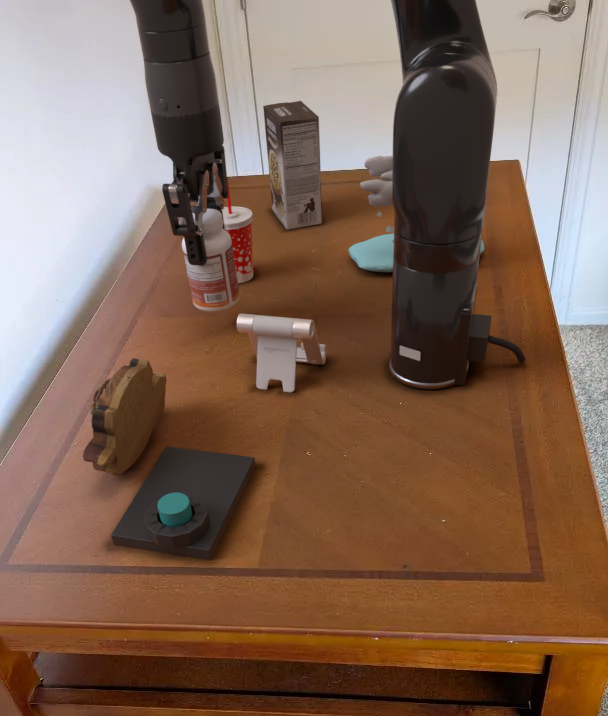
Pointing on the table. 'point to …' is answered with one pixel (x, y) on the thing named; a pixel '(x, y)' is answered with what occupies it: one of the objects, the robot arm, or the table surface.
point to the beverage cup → (240, 238)
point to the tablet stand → (281, 347)
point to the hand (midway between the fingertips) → (208, 251)
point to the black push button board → (207, 499)
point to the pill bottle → (213, 267)
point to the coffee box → (294, 163)
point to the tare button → (174, 509)
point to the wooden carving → (125, 416)
